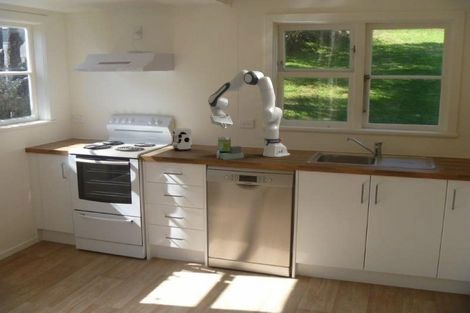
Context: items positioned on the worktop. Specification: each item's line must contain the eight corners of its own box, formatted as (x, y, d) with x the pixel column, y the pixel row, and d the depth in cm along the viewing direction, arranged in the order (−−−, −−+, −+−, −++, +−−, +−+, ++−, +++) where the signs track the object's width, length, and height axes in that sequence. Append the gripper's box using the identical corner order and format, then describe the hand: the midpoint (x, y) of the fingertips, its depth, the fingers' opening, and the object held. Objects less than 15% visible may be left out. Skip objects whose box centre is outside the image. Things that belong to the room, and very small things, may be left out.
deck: (238, 156, 367) (238, 145, 365) (243, 157, 359) (243, 146, 358) (216, 158, 357) (216, 147, 356) (221, 160, 350) (221, 148, 348)
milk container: (193, 148, 407) (192, 128, 403) (191, 151, 390) (191, 130, 386) (173, 148, 406) (173, 128, 403) (171, 151, 389) (170, 130, 386)
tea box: (231, 157, 361) (230, 139, 358) (218, 157, 361) (218, 139, 358) (230, 154, 376) (230, 136, 373) (218, 154, 375) (217, 136, 373)
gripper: (211, 112, 381) (216, 124, 373) (230, 115, 393) (236, 127, 385) (207, 117, 385) (212, 129, 377) (227, 120, 397) (232, 132, 389)
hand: (224, 128), depth 381 cm, fingers closed
